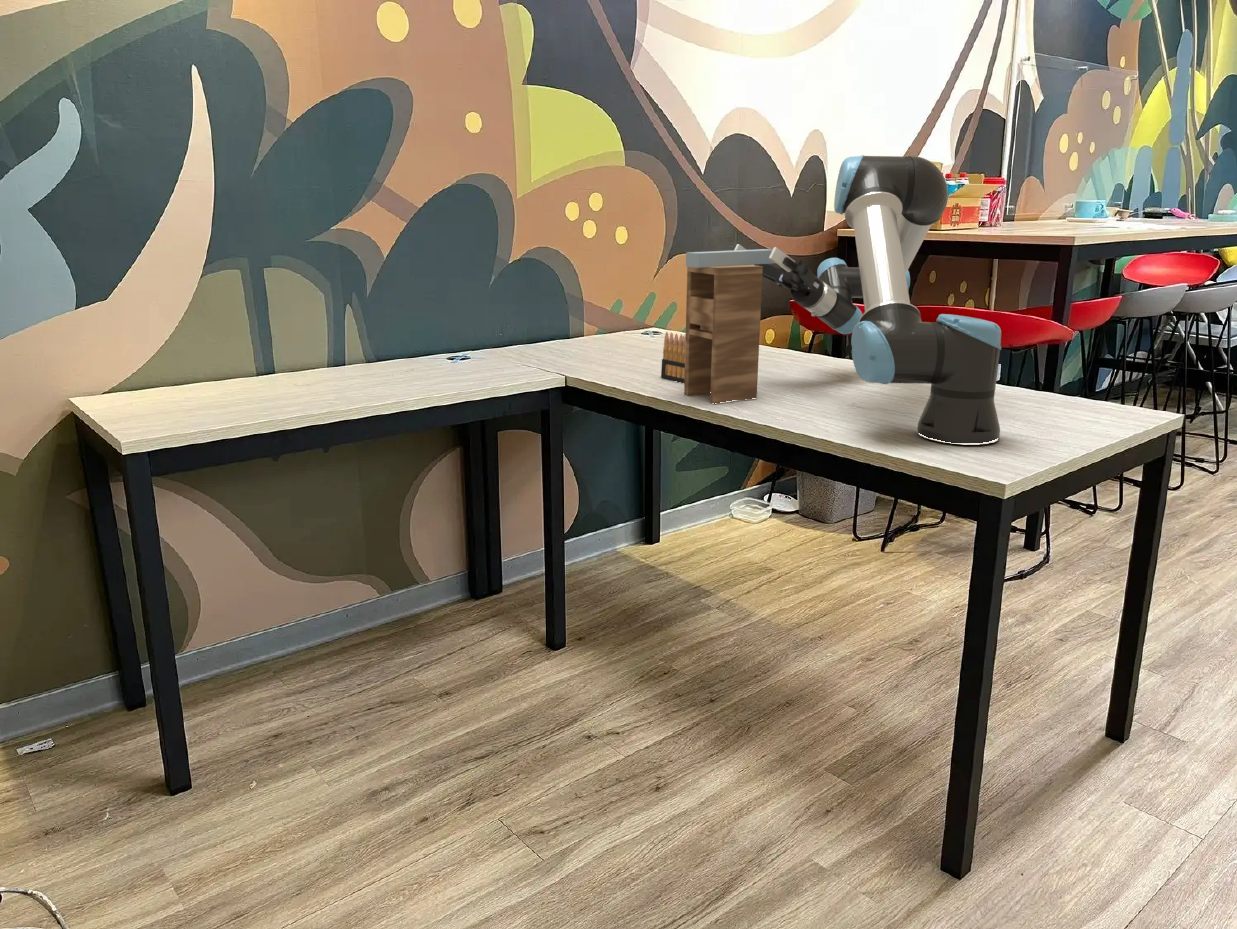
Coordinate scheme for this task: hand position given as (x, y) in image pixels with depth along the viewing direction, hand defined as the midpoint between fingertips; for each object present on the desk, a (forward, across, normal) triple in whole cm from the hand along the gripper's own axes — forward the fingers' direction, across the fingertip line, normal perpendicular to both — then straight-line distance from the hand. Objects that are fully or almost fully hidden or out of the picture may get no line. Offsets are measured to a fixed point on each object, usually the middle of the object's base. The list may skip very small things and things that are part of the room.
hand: (753, 250), depth 211 cm
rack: (-10, 0, -32) cm, 34 cm away
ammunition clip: (-11, +21, -32) cm, 40 cm away
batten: (+3, 0, -5) cm, 6 cm away
